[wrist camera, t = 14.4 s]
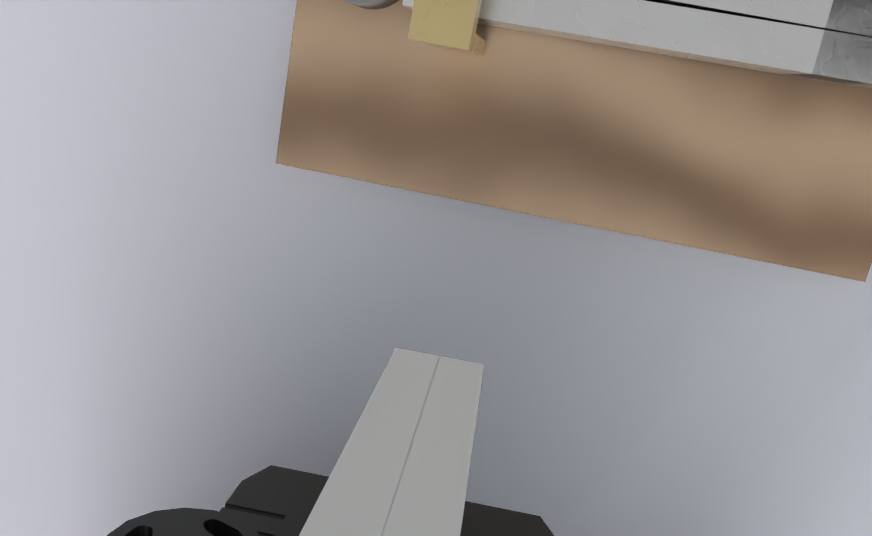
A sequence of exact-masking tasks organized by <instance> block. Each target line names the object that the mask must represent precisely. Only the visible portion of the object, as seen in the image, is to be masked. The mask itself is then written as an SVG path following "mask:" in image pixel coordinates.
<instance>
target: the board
mask: <svg viewBox="0 0 872 536" xmlns="http://www.w3.org/2000/svg"><path fill="white" fill-rule="evenodd" d="M402 3H403V0H297V4H296V12H295V20H294V27H293V35H292V43H291V51H290V58H289V66H288V74H287V81H286V89H285V97H284V105H283V112H282V120H281V128H280V136H279V143H278V151H277V159H276V163H278V164H282V165H287V166H292V167H297V168H302V169H307V170H312V171H317V172H322V173H327V174H332V175H337V176H342V177H347V178H352V179H357V180H362V181H367V182H372V183H377V184H382V185H387V186H392V187H397V188H402V189H407V190H412V191H417V192H421V193H426V194H431V195H436V196H441V197H446V198H451V199H456V200H461V201H466V202H471V203H476V204H481V205H486V206H491V207H496V208H501V209H506V210H511V211H516V212H521V213H526V214H531V215H536V216H541V217H546V218H551V219H556V220H560V221H565V222H570V223H575V224H580V225H585V226H590V227H595V228H600V229H605V230H610V231H615V232H620V233H625V234H630V235H635V236H640V237H645V238H650V239H655V240H660V241H665V242H670V243H675V244H680V245H685V246H690V247H695V248H699V249H704V250H709V251H714V252H719V253H724V254H729V255H734V256H739V257H744V258H749V259H754V260H759V261H764V262H769V263H774V264H779V265H784V266H789V267H794V268H799V269H804V270H809V271H814V272H819V273H824V274H829V275H834V276H839V277H843V278H848V279H853V280H858V281H863V282H865V281H866V278H867V275H868V272H869V269H870V266H871V263H872V87H853V86H847V85H841V84H835V83H829V82H823V81H817V80H811V79H805V78H799V77H794V76H788V75H782V74H776V73H770V72H764V71H758V70H752V69H746V68H740V67H734V66H728V65H722V64H716V63H710V62H704V61H698V60H692V59H686V58H680V57H674V56H669V55H663V54H657V53H651V52H645V51H639V50H633V49H627V48H621V47H615V46H609V45H603V44H597V43H591V42H585V41H579V40H573V39H567V38H561V37H555V36H549V35H543V34H538V33H532V32H526V31H520V30H514V29H508V28H502V27H496V26H490V25H484V24H477V29H476V34H477V35H479V36H480V37H481V38H483V39H484V40H485V41H486V45H485V50H484V55H483V56H481V55H476V54H471V53H465V52H460V51H455V50H449V49H444V48H439V47H435V46H431V45H428V44H424V43H421V42H417V41H414V40H410V39H408V34H409V28H410V22H411V16H412V10H410V9H409V8H407V7H405V6H403V5H402Z"/></svg>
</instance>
